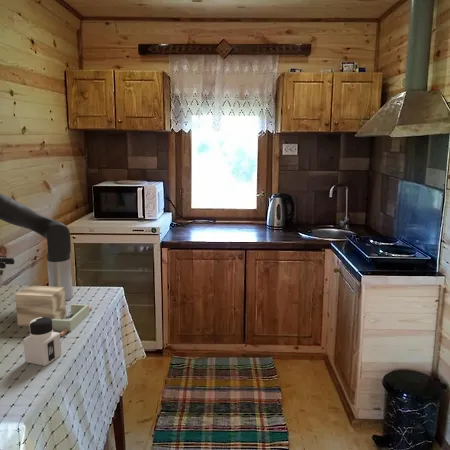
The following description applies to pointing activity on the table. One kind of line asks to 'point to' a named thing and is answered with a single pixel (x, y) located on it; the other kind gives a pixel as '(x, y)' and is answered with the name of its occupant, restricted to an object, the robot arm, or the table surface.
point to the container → (42, 342)
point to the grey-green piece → (71, 319)
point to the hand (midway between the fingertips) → (9, 263)
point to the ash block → (40, 303)
